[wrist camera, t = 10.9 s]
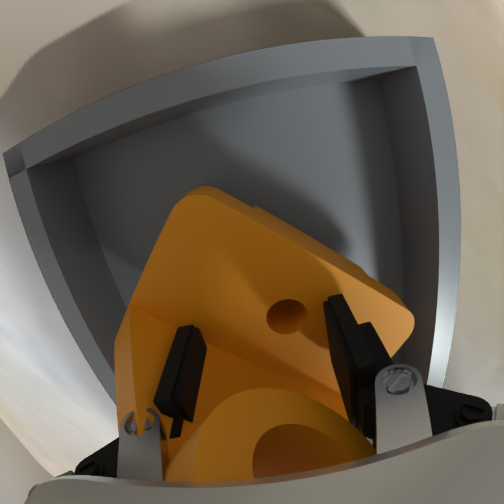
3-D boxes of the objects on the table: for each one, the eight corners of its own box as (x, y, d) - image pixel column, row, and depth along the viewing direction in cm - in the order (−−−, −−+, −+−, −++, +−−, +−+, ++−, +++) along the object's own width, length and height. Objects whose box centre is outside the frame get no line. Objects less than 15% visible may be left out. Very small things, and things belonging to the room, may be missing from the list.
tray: (384, 59, 13) (432, 37, 8) (409, 364, 20) (436, 411, 15) (60, 144, 14) (2, 153, 10) (173, 411, 21) (161, 462, 17)
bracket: (398, 290, 14) (542, 492, 3) (315, 390, 16) (356, 591, 5) (198, 174, 12) (-56, 419, 1) (133, 309, 14) (21, 538, 3)
